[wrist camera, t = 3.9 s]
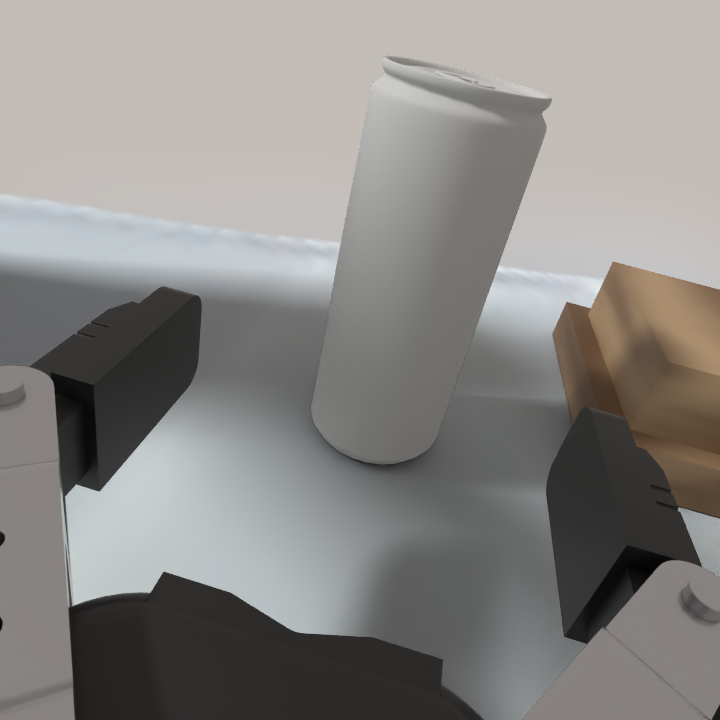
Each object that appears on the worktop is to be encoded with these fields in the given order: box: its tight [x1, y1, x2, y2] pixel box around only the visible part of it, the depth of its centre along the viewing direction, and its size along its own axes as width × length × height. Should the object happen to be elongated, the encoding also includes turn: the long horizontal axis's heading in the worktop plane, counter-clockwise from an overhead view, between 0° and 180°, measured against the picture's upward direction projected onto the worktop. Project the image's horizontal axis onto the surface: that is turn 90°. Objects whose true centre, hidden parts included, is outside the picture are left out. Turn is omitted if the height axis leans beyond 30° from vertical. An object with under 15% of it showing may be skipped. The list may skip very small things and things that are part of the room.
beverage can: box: [311, 56, 552, 465], centre depth 18 cm, size 5×5×12 cm
